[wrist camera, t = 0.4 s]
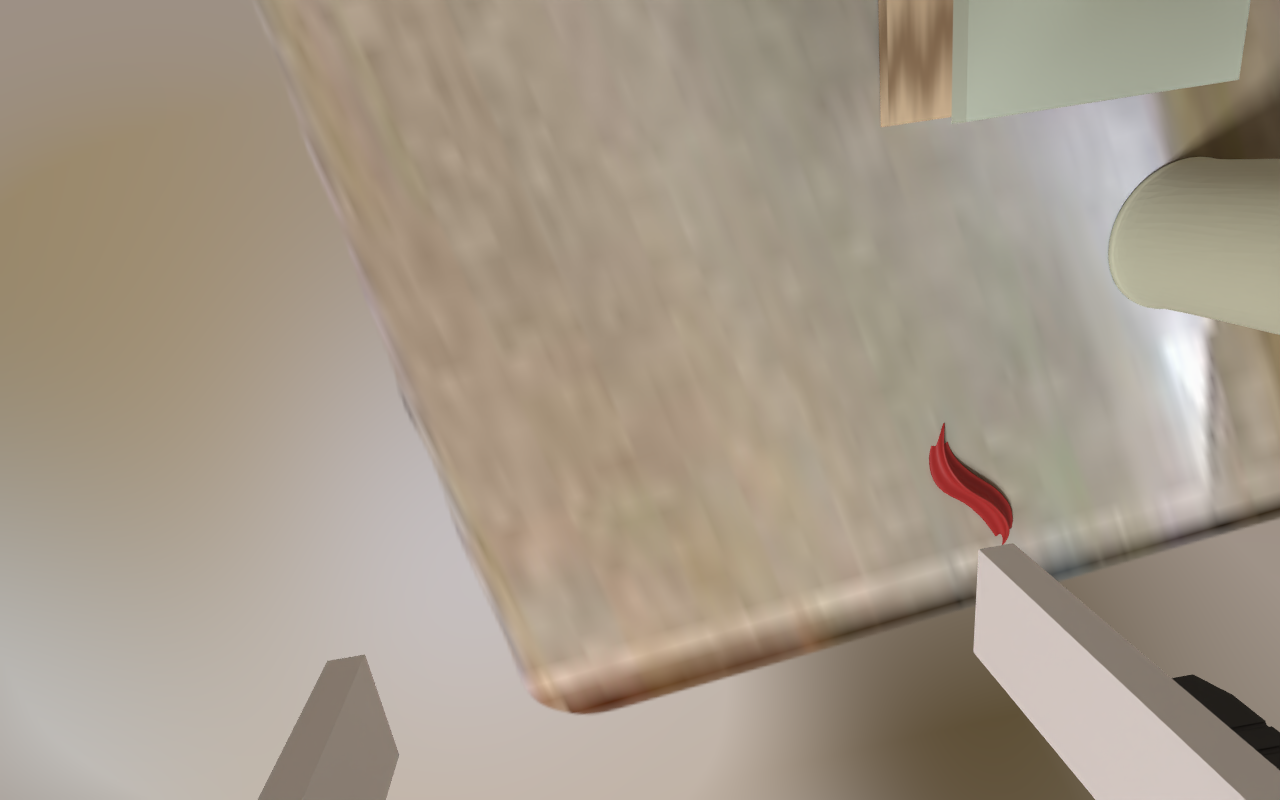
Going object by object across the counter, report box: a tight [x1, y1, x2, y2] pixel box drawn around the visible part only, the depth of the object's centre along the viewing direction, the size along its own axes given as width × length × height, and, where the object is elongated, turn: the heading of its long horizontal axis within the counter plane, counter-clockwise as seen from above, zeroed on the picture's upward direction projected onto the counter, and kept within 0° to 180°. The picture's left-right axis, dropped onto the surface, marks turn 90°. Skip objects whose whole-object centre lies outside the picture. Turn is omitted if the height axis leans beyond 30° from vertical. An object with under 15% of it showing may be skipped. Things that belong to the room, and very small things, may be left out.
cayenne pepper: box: [929, 423, 1013, 545], centre depth 45 cm, size 12×5×2 cm, turn 25°
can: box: [1108, 157, 1280, 335], centre depth 36 cm, size 9×9×12 cm
